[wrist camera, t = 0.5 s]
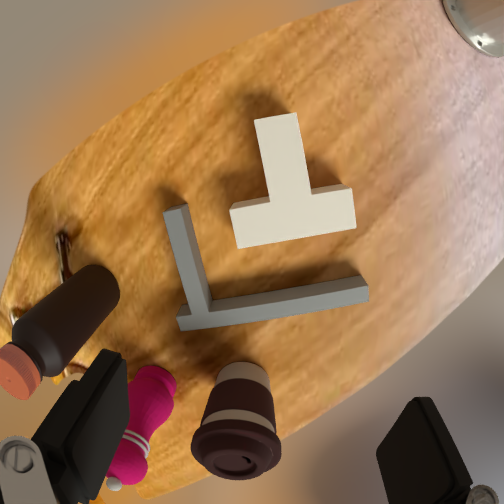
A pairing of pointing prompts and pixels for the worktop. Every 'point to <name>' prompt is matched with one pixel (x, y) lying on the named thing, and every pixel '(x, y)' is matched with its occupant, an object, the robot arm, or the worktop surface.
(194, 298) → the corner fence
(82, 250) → the worktop surface
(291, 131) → the t block
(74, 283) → the bottle
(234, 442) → the coffee cup
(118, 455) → the pepper mill
